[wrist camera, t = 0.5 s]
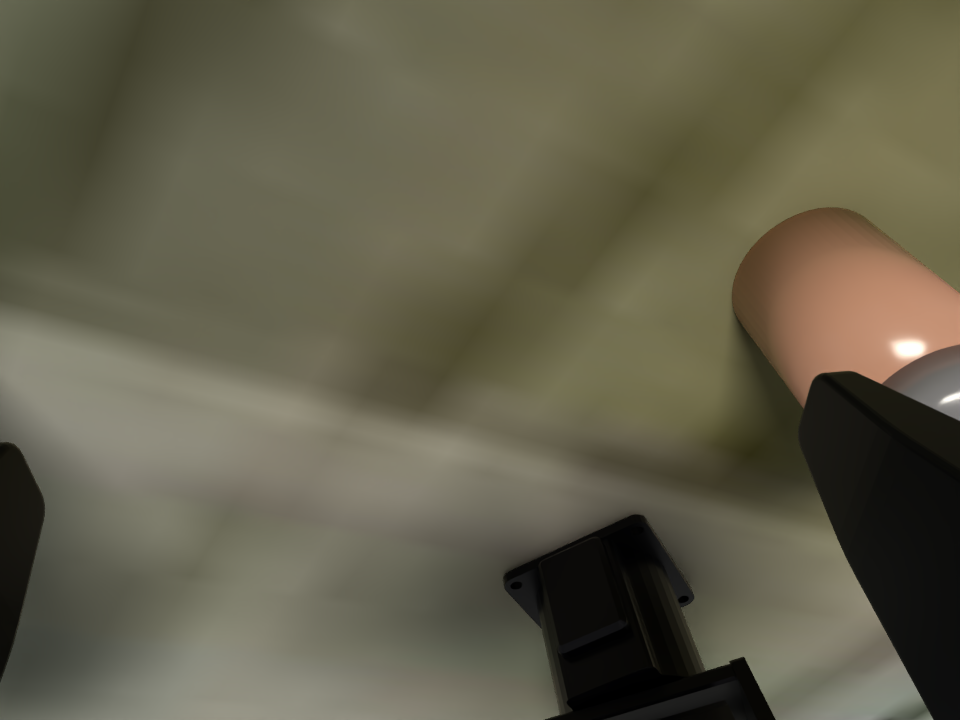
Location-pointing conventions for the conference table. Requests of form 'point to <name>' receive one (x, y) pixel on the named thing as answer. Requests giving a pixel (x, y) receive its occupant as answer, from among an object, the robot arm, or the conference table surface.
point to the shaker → (850, 308)
